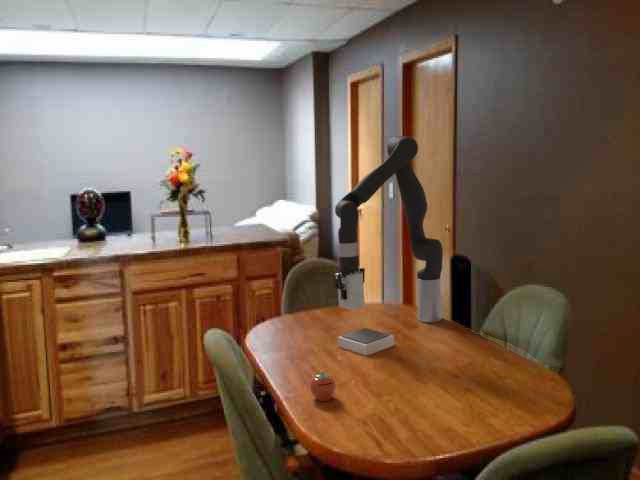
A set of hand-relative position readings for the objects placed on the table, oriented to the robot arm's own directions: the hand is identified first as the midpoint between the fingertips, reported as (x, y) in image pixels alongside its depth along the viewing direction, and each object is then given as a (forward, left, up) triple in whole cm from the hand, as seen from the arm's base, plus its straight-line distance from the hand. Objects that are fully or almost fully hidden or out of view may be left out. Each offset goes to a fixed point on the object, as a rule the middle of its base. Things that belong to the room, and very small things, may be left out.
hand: (351, 297), depth 218 cm
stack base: (+7, +14, -14) cm, 21 cm away
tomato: (+47, +36, -14) cm, 61 cm away
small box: (0, 0, -4) cm, 4 cm away
